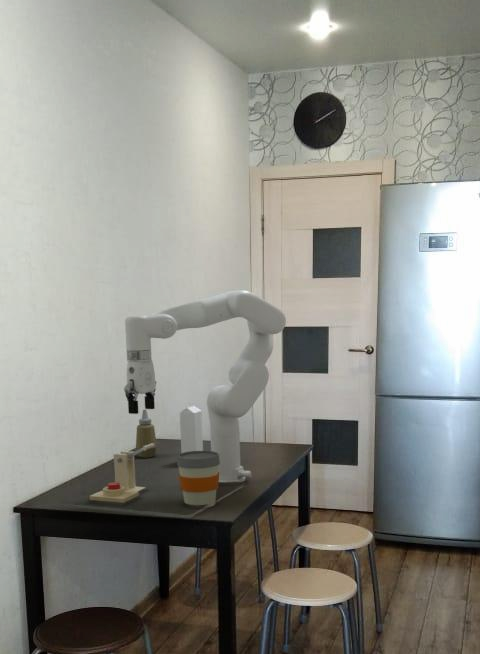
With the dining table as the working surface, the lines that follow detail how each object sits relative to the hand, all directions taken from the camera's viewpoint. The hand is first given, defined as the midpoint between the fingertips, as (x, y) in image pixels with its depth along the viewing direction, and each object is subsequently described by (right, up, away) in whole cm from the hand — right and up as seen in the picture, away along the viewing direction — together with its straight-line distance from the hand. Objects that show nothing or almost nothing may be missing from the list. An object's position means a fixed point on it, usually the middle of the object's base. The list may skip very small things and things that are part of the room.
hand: (141, 411), depth 264 cm
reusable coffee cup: (+19, -28, -12) cm, 36 cm away
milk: (+13, -17, +47) cm, 52 cm away
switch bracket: (-6, -26, +5) cm, 27 cm away
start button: (-8, -24, -6) cm, 26 cm away
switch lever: (-2, -14, +1) cm, 14 cm away
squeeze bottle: (-5, -15, +60) cm, 62 cm away
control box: (-8, -27, -5) cm, 29 cm away
